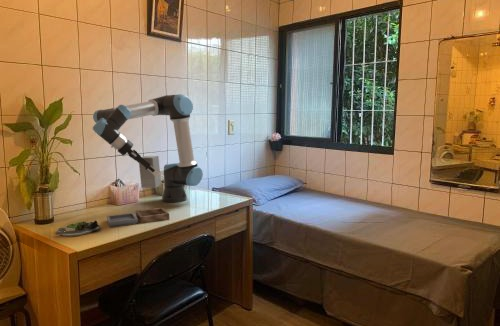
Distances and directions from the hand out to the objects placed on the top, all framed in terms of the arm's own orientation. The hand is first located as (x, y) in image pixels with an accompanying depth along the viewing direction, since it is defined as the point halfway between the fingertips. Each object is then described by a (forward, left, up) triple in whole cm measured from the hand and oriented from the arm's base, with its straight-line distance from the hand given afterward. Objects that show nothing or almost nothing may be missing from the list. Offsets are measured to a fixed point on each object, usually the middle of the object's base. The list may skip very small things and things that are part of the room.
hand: (156, 174), depth 191 cm
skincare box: (+3, 0, -7) cm, 7 cm away
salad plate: (+37, +6, -23) cm, 44 cm away
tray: (+18, +1, -23) cm, 29 cm away
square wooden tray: (+3, 0, -23) cm, 23 cm away
